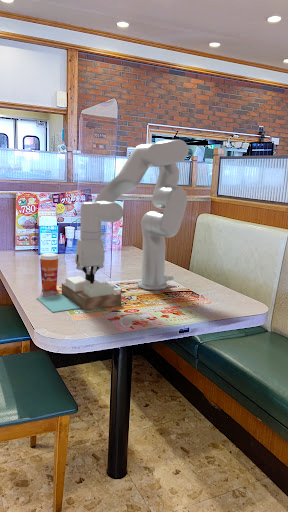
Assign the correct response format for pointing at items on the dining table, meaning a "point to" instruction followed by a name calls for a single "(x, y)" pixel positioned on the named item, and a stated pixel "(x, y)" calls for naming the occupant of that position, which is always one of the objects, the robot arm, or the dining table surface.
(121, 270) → the dining table surface
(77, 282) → the white rectangular block
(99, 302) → the riser
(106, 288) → the pale green block
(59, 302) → the mat
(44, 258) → the paper cup
